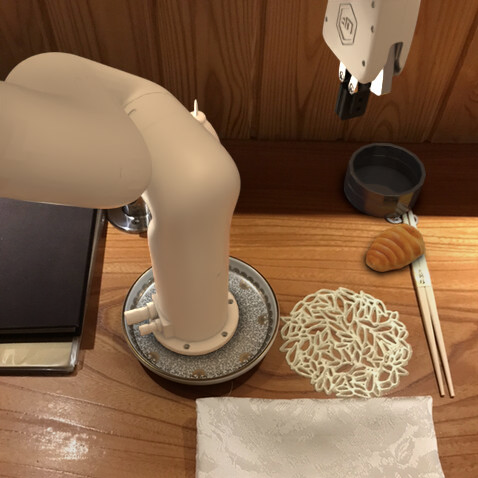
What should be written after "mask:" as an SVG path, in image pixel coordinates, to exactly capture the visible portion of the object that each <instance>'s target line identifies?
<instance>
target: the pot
mask: <svg viewBox="0 0 478 478" xmlns="http://www.w3.org/2000/svg"><path fill="white" fill-rule="evenodd" d="M426 176H427V173H426V169H425V165H424V163H423V162H422V161H421V159H420V158H419V156H417V154H416V153H414V152H412V151H411V150H408V149H407V148H406V147H404V146H401V145H397V144H393V143H391V142H372V143H369V144H365V145H362V146H360V147H359V148H358V149H357V150H355V151H354V152H353V153H352V155H351V156H350V159H349V160H348V164H347V168H346V173H345V176H344V181H343V192H344V195H345V198H346V199H347V201H348V203H350V204H351V205H352V207H354V208H355V209H356V210H358V211H360V212H361V213H363V214H366V215H368V216H372V217H375V218H380V219H389V218H397V217H400V216H403V215H404V214H406V213H408V212H409V211H410V210H412V208H413V207H414V205H415V204H416V202H417V200H418V197H419V194H420V192H421V190H422V188H423V185H424V182H425V179H426ZM409 207H410V208H409Z"/></svg>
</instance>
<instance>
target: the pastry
mask: <svg viewBox="0 0 478 478" xmlns="http://www.w3.org/2000/svg"><path fill="white" fill-rule="evenodd" d="M426 251H427V248H426V243H425V241H424V236H423V234H422V233H421V232H420V230H418V229H417V228H416V227H415V226H414V225H412V224H411V225H410V224H409V223H406V222H405V223H399V224H397V225H395V226H392V227H388V228H387V229H385V230H384V231H383V232H382V233H380V234H378V236H377V237H376V238H375V239H374V240H373V242H372V243H371V245H370V247H369V249H368V250H367V252H366V256H365V264H366V265H367V266H368V267H369V268H371V270H373V271H374V270H375V271H376V272H380V273H383V272H390V271H393V270H400V269H402V268H405V267H406V266H408V265H410V264H411V263H413V262H415V261H417V260H418V259H419V258H420V257H422V256H423V255H425V254H426Z"/></svg>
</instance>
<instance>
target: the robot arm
mask: <svg viewBox="0 0 478 478" xmlns="http://www.w3.org/2000/svg"><path fill="white" fill-rule="evenodd" d="M421 1H422V0H327V4H326V10H325V15H324V19H323V24H322V26H323V27H322V37H323V40H324V42H325V43H326V45H327V46H328V48H329V49H330V50H331V52H333V54H334V55H335V57H336V58H337V60H339V69H338V77H339V78H338V79H339V80H340V81H341V82H340V83H339V87H338V92H337V97H336V102H335V106H334V113H335V114H336V115H337V116H338V118H339V119H340V121H347V120H351V119H355V118H360V117H363V116H364V115H365V113H366V110H367V106H368V102H369V98H370V94H371V93H373V94H375V95H376V96H378V97H380V96H384V95H388V94H390V93H391V91H392V85H393V77H399V76H400V75H401V73H402V72H403V70H404V68H405V65H406V62H407V60H408V56H409V53H410V50H411V46H412V43H413V39H414V35H415V30H416V27H417V22H418V17H419V12H420V7H421ZM219 141H220V140H219ZM219 141H218V140H217V139H216V138H215V137H214V136H213V135H212V134H211V133H210V132H209V131H208V130H207V129H206V128H205V127H204V126H203V125H202V124H201V123H200V122H199V121H198V120H197V119H196V118H195V117H194V116H193V115H192V114H191V111H189V110H188V109H187V107H185V106H184V105H183V103H181V102H180V101H179V99H177V98H176V96H174V95H173V94H172V93H171V92H170V91H168V90H167V89H166V88H164V87H163V86H161V85H159V84H157V83H156V82H153V81H151V80H149V79H147V78H143V77H141V76H138V75H135V74H132V73H129V72H126V71H123V70H121V69H118V68H114V67H111V66H108V65H106V64H103V63H100V62H97V61H95V60H92V59H89V58H86V57H82V56H79V55H76V54H74V53H73V54H72V53H67V52H60V51H59V52H58V51H56V52H53V51H52V52H43V53H39V54H35V55H32V56H30V57H27V58H26V59H24V60H22V61H21V62H19V63H18V64H17V65H16V66H14V68H12V69H11V71H10V72H9V73H8V75H7V77H6V78H5V80H0V198H1V199H2V198H5V199H9V200H10V199H11V200H17V201H22V202H32V203H42V204H50V205H58V206H59V205H60V206H67V207H68V206H69V207H75V208H77V207H78V208H85V209H100V210H101V209H107V210H109V209H117V208H121V207H124V206H127V205H129V204H131V203H133V202H135V201H136V200H138V199H139V198H140V197H141V198H142V200H143V201H144V203H145V205H146V206H147V209H148V210H149V213H150V216H151V220H150V221H149V223H148V226H147V232H146V233H147V235H146V236H147V245H148V251H149V256H150V262H151V267H152V274H153V275H152V276H153V281H154V287H155V293H154V292H153V293H152V294H151V300H152V301H150V302H147V303H145V306H141V307H140V308H139V307H138V308H134V309H130V310H126V311H124V312H123V314H124V317H125V321H126V324H127V326H133V325H136V324H138V323H141V322H143V321H145V320H149V323H145V324H141V325H138V326H137V327H138V331H139V333H140V336H141V337H143V336H146V335H149V334H151V333H152V334H153V336H154V337H155V339H156V341H158V342H159V343H160V344H161V345H162V346H163V347H165V348H166V349H168V350H170V351H171V352H174V353H177V354H179V355H186V356H201V355H207V354H209V353H212V352H215V351H217V350H218V349H220V348H222V347H224V346H225V345H226V344H227V343H228V342H229V341H230V340H231V339H232V338H233V336H234V335H235V332H236V331H237V328H238V325H239V319H240V318H239V317H240V315H239V311H240V310H239V306H238V302H237V300H236V298H235V297H234V294H233V293H231V291H230V290H229V286H230V285H229V283H230V282H229V281H230V280H229V279H230V250H231V249H230V242H231V241H230V239H231V226H232V219H233V215H234V212H235V209H236V207H237V206H236V205H237V203H238V199H239V196H240V192H241V176H240V172H239V170H238V167H237V164H236V162H235V161H234V159H233V158H232V155H230V153H229V152H228V151H227V150H226V148H225V147H224V145H223V144H222V143H221V141H220V142H219Z"/></svg>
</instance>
